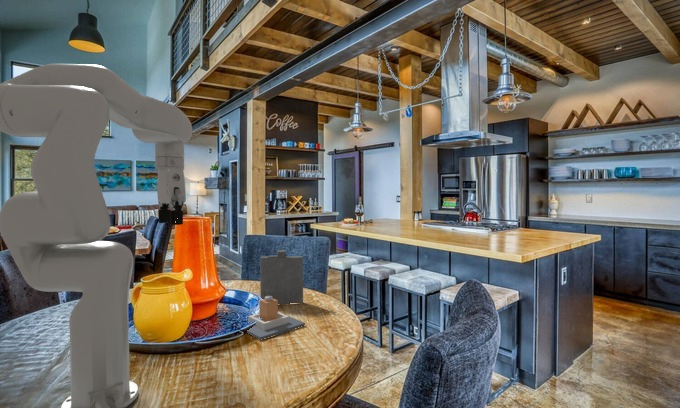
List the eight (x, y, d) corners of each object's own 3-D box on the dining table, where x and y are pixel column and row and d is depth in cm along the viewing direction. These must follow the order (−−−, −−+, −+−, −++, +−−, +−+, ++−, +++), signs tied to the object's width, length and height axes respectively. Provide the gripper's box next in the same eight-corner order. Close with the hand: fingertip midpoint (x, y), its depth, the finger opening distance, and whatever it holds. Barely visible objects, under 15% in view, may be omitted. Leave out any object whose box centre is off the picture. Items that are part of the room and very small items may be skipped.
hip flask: (303, 301, 135) (303, 249, 135) (302, 305, 131) (302, 251, 131) (261, 302, 134) (261, 249, 134) (259, 305, 130) (259, 251, 130)
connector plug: (277, 322, 110) (277, 297, 110) (266, 325, 107) (266, 299, 107) (270, 319, 113) (270, 294, 113) (259, 322, 110) (259, 297, 110)
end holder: (305, 326, 110) (305, 316, 110) (260, 340, 99) (260, 330, 99) (275, 313, 121) (275, 304, 121) (232, 325, 110) (232, 316, 110)
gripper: (195, 163, 99) (195, 224, 99) (172, 166, 111) (173, 221, 111) (166, 161, 93) (167, 226, 94) (146, 165, 106) (147, 222, 106)
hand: (170, 223), depth 103 cm, fingers open, 9 cm apart
